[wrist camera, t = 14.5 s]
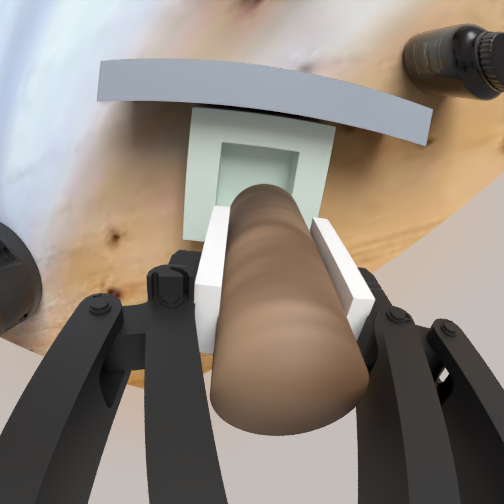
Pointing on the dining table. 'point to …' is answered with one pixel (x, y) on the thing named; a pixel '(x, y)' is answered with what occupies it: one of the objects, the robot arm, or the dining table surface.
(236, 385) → the dowel
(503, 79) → the supplement bottle
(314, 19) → the dining table surface
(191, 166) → the socket block
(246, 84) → the wall
